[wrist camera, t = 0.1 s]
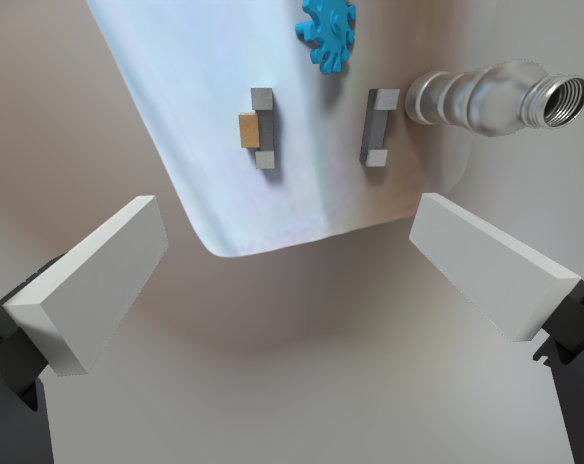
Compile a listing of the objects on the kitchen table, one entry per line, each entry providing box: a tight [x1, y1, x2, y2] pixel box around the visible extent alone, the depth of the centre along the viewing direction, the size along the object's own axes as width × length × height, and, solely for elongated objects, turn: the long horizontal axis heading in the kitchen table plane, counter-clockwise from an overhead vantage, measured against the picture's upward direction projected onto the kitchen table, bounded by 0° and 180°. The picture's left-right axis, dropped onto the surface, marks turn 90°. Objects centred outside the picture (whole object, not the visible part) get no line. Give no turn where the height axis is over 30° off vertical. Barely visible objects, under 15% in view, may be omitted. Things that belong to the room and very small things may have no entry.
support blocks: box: [239, 88, 400, 169], centre depth 34 cm, size 10×21×4 cm, turn 90°
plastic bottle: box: [405, 59, 584, 137], centre depth 27 cm, size 6×7×20 cm
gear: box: [295, 0, 356, 75], centre depth 28 cm, size 11×6×10 cm
